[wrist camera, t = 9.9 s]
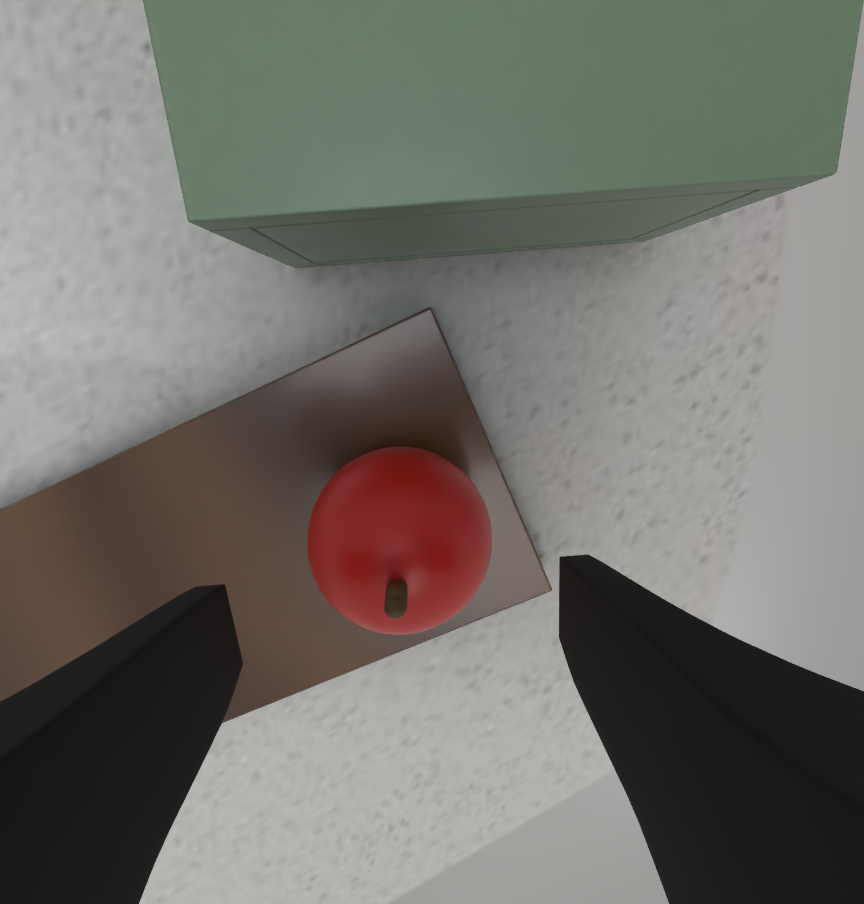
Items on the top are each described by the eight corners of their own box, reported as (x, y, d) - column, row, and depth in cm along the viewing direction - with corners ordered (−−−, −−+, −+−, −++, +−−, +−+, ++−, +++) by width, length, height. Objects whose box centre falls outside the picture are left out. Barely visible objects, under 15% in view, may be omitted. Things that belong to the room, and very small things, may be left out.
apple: (505, 466, 15) (562, 560, 9) (438, 589, 17) (449, 740, 11) (364, 401, 15) (326, 457, 9) (304, 534, 16) (235, 665, 10)
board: (429, 308, 15) (431, 306, 14) (542, 569, 18) (552, 590, 17) (-450, 722, 19) (-522, 755, 17) (-236, 886, 22) (-284, 926, 20)
